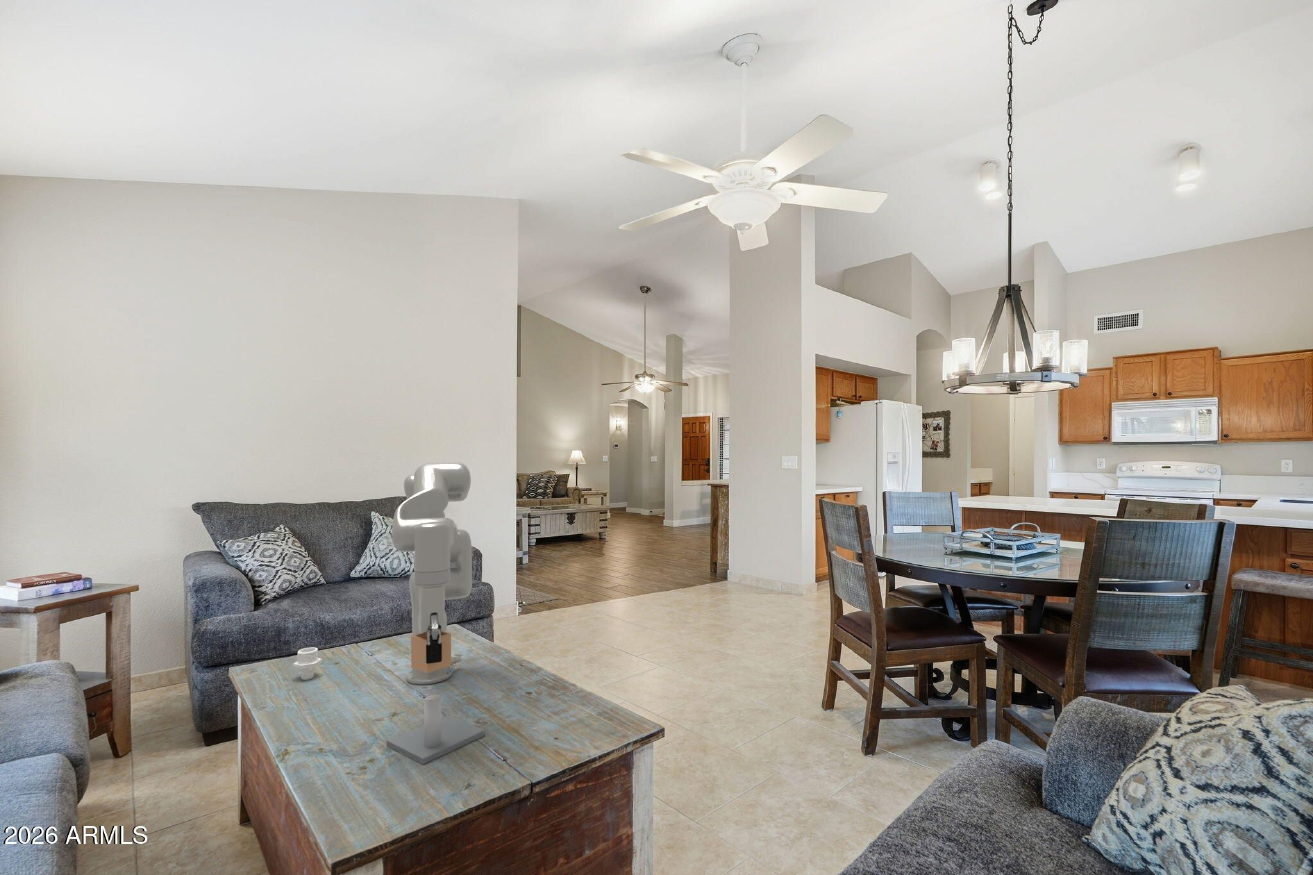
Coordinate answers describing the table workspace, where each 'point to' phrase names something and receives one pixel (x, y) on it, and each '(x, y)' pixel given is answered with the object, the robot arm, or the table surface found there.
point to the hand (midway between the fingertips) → (432, 655)
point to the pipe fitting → (307, 662)
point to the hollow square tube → (420, 652)
